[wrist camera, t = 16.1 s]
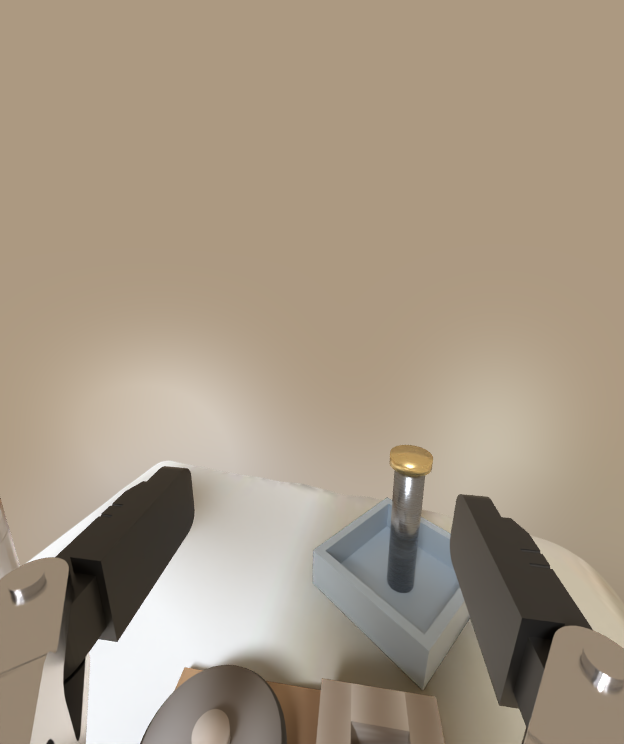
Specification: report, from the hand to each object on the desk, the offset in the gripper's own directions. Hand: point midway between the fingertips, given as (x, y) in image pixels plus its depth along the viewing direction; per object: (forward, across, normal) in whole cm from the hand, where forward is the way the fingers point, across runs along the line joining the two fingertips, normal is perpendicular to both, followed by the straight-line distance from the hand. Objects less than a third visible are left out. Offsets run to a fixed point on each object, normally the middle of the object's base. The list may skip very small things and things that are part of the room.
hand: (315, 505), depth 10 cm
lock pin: (+24, -8, +29) cm, 39 cm away
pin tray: (+24, -8, +30) cm, 40 cm away
